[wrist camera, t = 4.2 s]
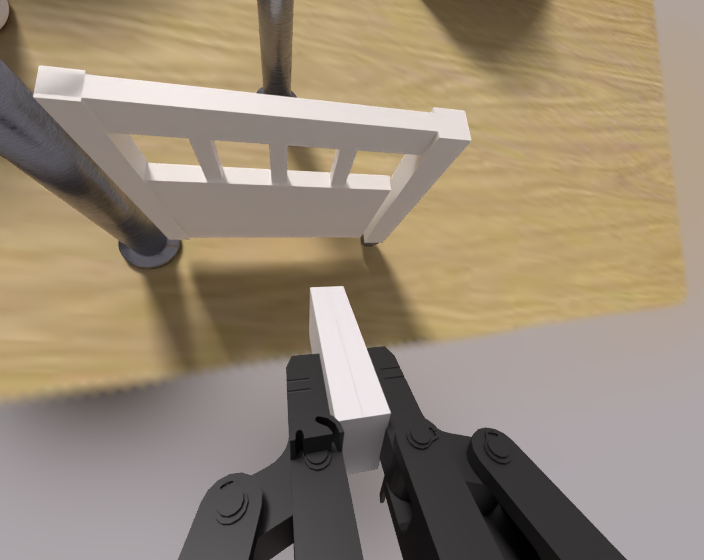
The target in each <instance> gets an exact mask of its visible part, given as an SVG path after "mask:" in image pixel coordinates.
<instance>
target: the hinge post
mask: <svg viewBox="0 0 704 560" xmlns="http://www.w3.org/2000/svg"><path fill="white" fill-rule="evenodd" d="M0 155H1V156H2V157H4V158H5V159H6V160H8V161H9V162H11V163H12V164H13V165H15V166H16V167H18V168H19V169H20V170H22V171H23V172H25V173H26V174H27V175H29V176H30V177H31V178H33V179H34V180H36V181H37V182H38V183H40V184H41V185H43V186H44V187H45V188H47V189H48V190H50V191H51V192H52V193H54V194H55V195H56V196H58V197H59V198H61V199H62V200H63V201H65V202H66V203H68V204H69V205H70V206H72V207H73V208H75V209H76V210H77V211H79V212H80V213H82V214H83V215H84V216H86V217H87V218H88V219H90V220H91V221H93V222H94V223H95V224H97V225H98V226H100V227H101V228H102V229H104V230H105V231H107V232H108V233H109V234H111V235H112V236H114V237H115V238H116V239H118V240H119V244H118V245H119V250H120V252H121V254H122V256H123V257H124V258H125V259H126V260H127V261H128V262H130V263H132V264H133V265H135V266H137V267H141V268H146V269H153V268H159V267H162V266H164V265H166V264H168V263H169V262H171V261H172V260H173V259H174V258H175V257H176V256H177V254H178V252H179V250H180V246H181V240H169V239H168V238H167V237H166V236H165V235H164V234H163V233H162V232H161V230H160V229H159V228H158V227H157V226H156V225H155V224H154V223H153V222H152V221H151V220H150V219H149V218H148V217H147V216H146V215H145V214H144V213H143V212H142V211H141V210H140V209H139V207H138V206H137V205H136V204H135V203H134V202H133V201H132V200H131V199H130V198H129V197H128V196H127V195H126V194H125V193H124V192H123V191H122V190H121V189H120V188H119V187H118V186H117V184H116V183H115V182H114V181H113V180H112V179H111V178H110V177H109V176H108V175H107V174H106V173H105V172H104V171H103V170H102V169H101V168H100V167H99V166H98V165H97V164H96V163H95V161H94V160H93V159H92V158H91V157H90V156H89V155H88V154H87V153H86V152H85V151H84V150H83V149H82V148H81V147H80V146H79V145H78V144H77V143H76V142H75V141H74V140H73V138H72V137H71V136H70V135H69V134H68V133H67V132H66V131H65V130H64V129H63V128H62V127H61V126H60V125H59V124H58V123H57V122H56V121H55V120H54V119H53V118H52V117H51V115H50V114H49V113H48V112H47V111H46V110H45V109H44V108H43V107H42V106H41V105H40V104H39V103H38V102H37V101H36V100H35V99H34V98H33V93H32V92H31V91H30V90H29V89H28V88H27V87H26V86H25V85H24V84H23V83H22V81H21V80H20V79H19V78H18V77H17V76H16V75H15V74H14V73H13V72H12V71H11V70H10V69H9V68H8V67H7V66H6V65H5V63H4V62H3V61H2V60H1V59H0Z"/></svg>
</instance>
